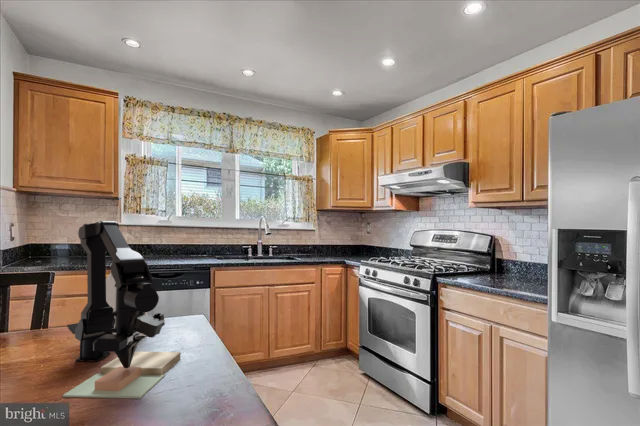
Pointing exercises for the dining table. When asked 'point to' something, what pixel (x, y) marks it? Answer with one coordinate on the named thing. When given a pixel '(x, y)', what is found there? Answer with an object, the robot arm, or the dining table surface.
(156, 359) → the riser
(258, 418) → the dining table surface
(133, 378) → the tile
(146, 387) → the mat
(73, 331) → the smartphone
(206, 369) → the dining table surface
